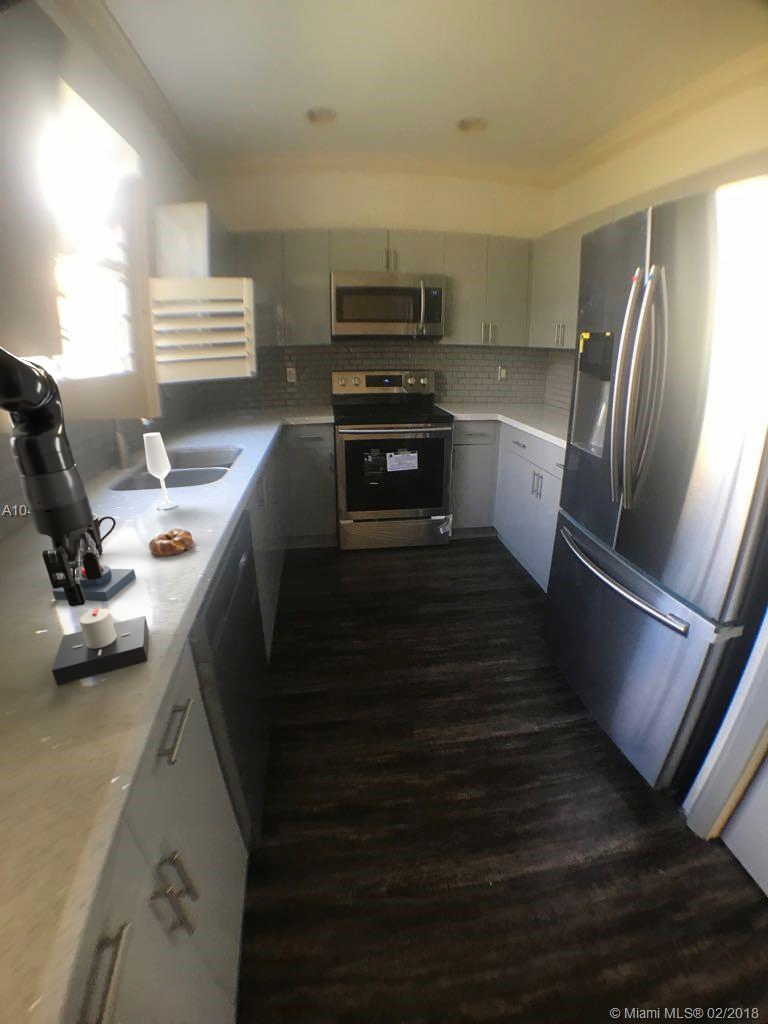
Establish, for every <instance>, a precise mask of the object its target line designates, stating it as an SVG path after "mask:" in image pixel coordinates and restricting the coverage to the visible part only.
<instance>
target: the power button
mask: <svg viewBox="0 0 768 1024" xmlns="http://www.w3.org/2000/svg"><path fill="white" fill-rule="evenodd" d="M101 565H102V564H100V567H101ZM81 570H82V573H83V577H87V576H86V573H85V570H84V566H83V567H82V568H81V569H80V571H81ZM101 570H102V568H101Z"/></svg>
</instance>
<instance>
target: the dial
mask: <svg viewBox="0 0 768 1024" xmlns="http://www.w3.org/2000/svg"><path fill="white" fill-rule="evenodd" d="M78 621H79V624H80V628H81V631H83V634H84V637H85V640H86V643H87V646H88V647H89V648H92V649H96V648H102V647H105V646H107V645H109V644H111V643H112V642H113V641H114V640H115V639H116V637H117V635H116V632H115V628H114V625H113V624H114V622H113V619H112V616H111V612H110V610H109V609H107V608H98V607H94V608H93V609H92V610H90V611H87V612H85V613H84V614H82V616H80V617H79V620H78Z"/></svg>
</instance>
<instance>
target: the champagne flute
mask: <svg viewBox="0 0 768 1024" xmlns="http://www.w3.org/2000/svg"><path fill="white" fill-rule="evenodd" d="M142 436H143V443H144V450H145V451H144V452H145V458H146V459H145V460H146V469H147V471H148V473H149V474H150V475H152V476H153V477H155V478H156V479H159V482H160V486H161V491H162V496H163V500H164V501H163V502H162V503H161V504H164V505H165V504H170V503H171V502H172V501H170V500H169V497H168V493H167V487H166V483H165V478H166V477H167V476H168V474H169V473H170V471H171V469H172V467H171V463H170V460H169V456H168V454H167V450H166V447H165V443H164V441H163V438H162V435H161V433H160V432H148V433H144V434H143V435H142Z"/></svg>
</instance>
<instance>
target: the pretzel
mask: <svg viewBox="0 0 768 1024" xmlns="http://www.w3.org/2000/svg"><path fill="white" fill-rule="evenodd" d="M194 543H195V542H194V540H193V535H192V533H191V532H190V531H188V530H183V529H180V528H174V529H171V530H169V531H168V532H164V533H160V534H159V535H158V536H155V537H154V538H152V540H150V542H149V544H148V548H149V550H150V551H151V553H153V554H154V555H156V556H172V555H171V554H175V555H177V554H176V553H178V554H180V553H182V552H184V551H185V550H184V549H188V548H190V549H191V548H192V547H193V546H194ZM183 550H184V551H183ZM188 550H189V549H188ZM181 551H182V552H181ZM179 552H180V553H179Z"/></svg>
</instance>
